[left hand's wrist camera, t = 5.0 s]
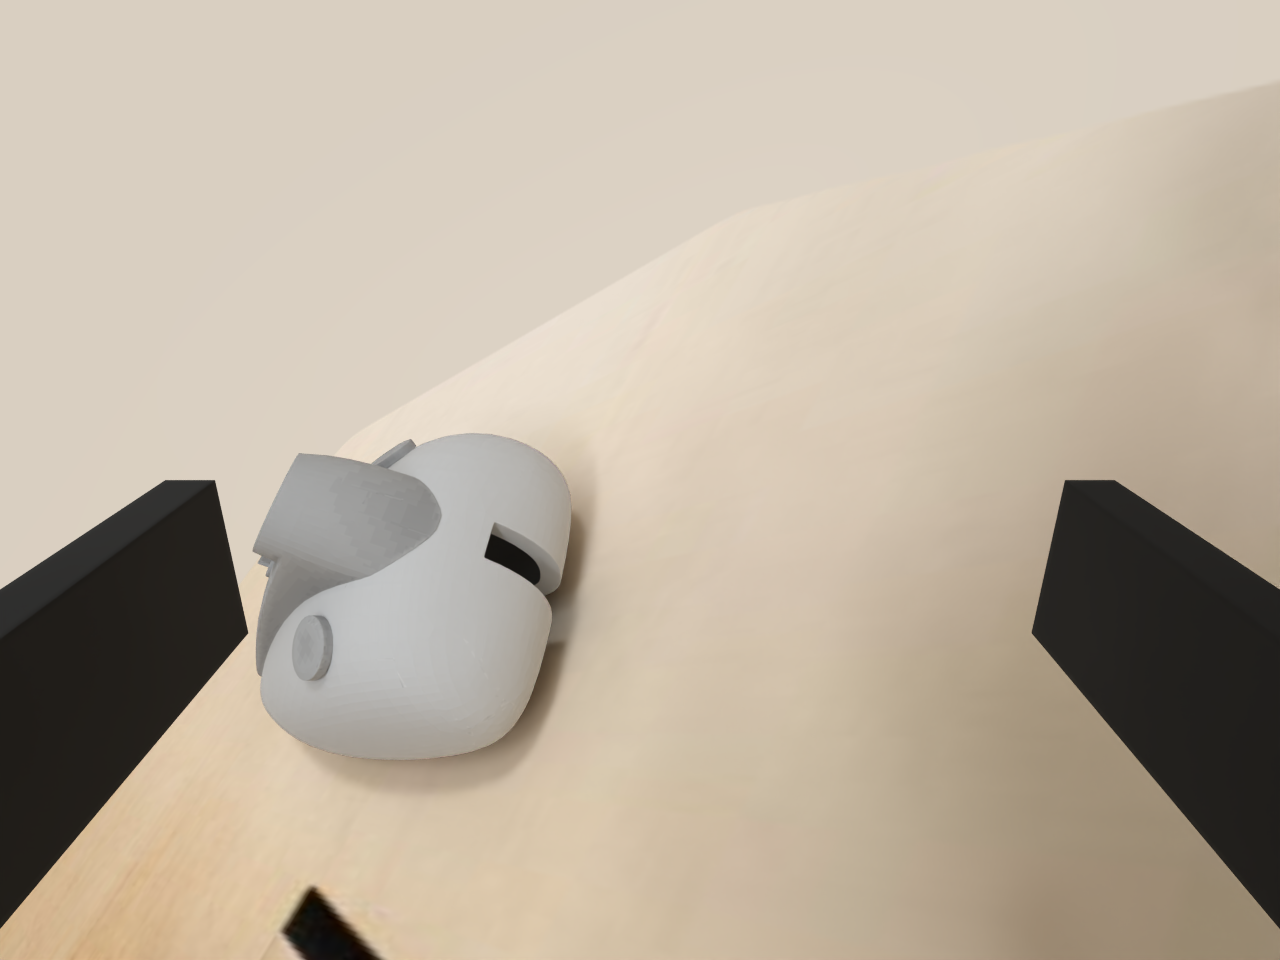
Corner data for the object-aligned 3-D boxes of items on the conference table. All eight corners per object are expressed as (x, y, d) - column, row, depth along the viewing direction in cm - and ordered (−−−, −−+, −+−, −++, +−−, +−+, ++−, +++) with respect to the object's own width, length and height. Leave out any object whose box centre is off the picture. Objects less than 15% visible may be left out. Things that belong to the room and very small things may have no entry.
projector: (506, 432, 55) (341, 284, 46) (693, 576, 37) (481, 380, 28) (289, 678, 53) (70, 573, 44) (375, 957, 35) (35, 878, 26)
